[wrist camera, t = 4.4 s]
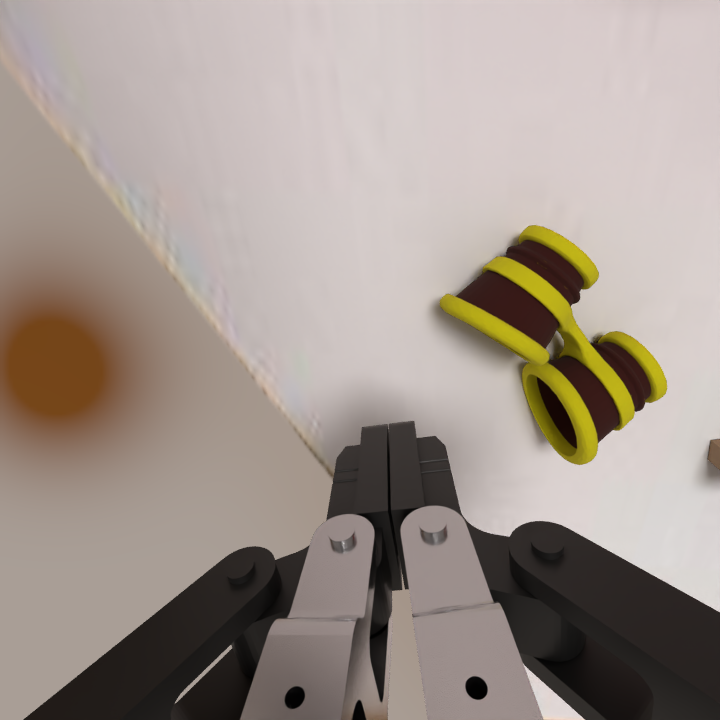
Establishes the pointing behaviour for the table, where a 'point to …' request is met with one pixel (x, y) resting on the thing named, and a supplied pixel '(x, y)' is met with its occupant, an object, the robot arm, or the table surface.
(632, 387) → the opera glasses
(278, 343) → the table surface
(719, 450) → the walnut bay
